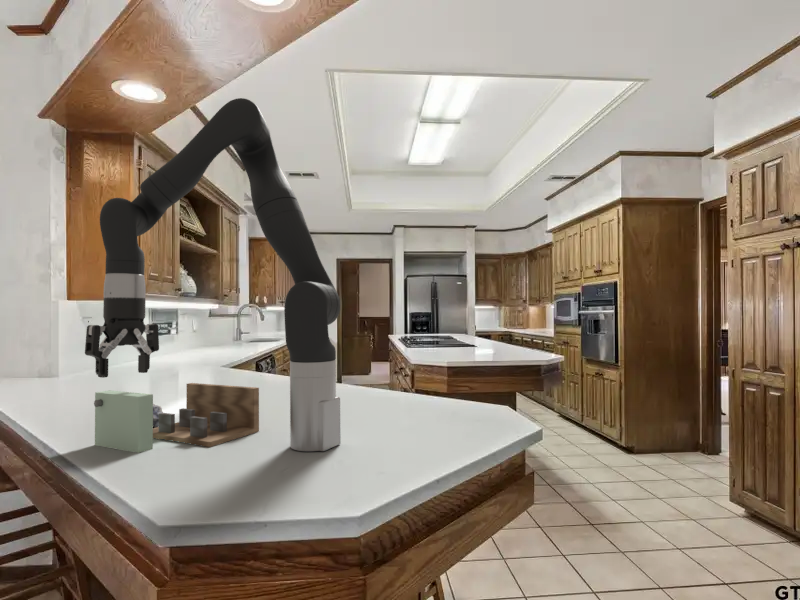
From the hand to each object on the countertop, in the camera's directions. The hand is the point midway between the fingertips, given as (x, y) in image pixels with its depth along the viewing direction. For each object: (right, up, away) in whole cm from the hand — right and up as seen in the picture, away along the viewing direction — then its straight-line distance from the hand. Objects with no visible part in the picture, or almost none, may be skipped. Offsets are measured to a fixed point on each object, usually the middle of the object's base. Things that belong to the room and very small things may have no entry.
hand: (123, 374), depth 96 cm
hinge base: (+12, -15, +9) cm, 21 cm away
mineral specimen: (-5, -16, +19) cm, 25 cm away
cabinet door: (0, -15, -1) cm, 15 cm away
